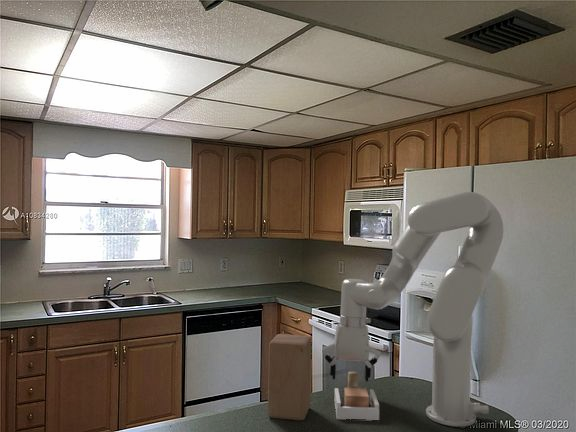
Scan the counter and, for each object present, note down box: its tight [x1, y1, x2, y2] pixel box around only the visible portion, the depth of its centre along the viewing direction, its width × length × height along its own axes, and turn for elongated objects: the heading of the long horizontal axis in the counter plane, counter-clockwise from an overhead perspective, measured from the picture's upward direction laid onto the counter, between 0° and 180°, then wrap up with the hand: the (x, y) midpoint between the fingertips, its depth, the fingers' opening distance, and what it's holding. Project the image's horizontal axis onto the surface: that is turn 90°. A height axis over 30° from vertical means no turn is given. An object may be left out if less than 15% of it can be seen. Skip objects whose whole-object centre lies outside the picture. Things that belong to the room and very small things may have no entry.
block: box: [343, 371, 370, 407], centre depth 133 cm, size 6×15×7 cm, turn 177°
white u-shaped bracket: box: [333, 387, 380, 421], centre depth 129 cm, size 11×12×4 cm
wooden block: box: [267, 333, 312, 421], centre depth 127 cm, size 10×10×20 cm
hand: (349, 378), depth 140 cm, fingers open, 9 cm apart
